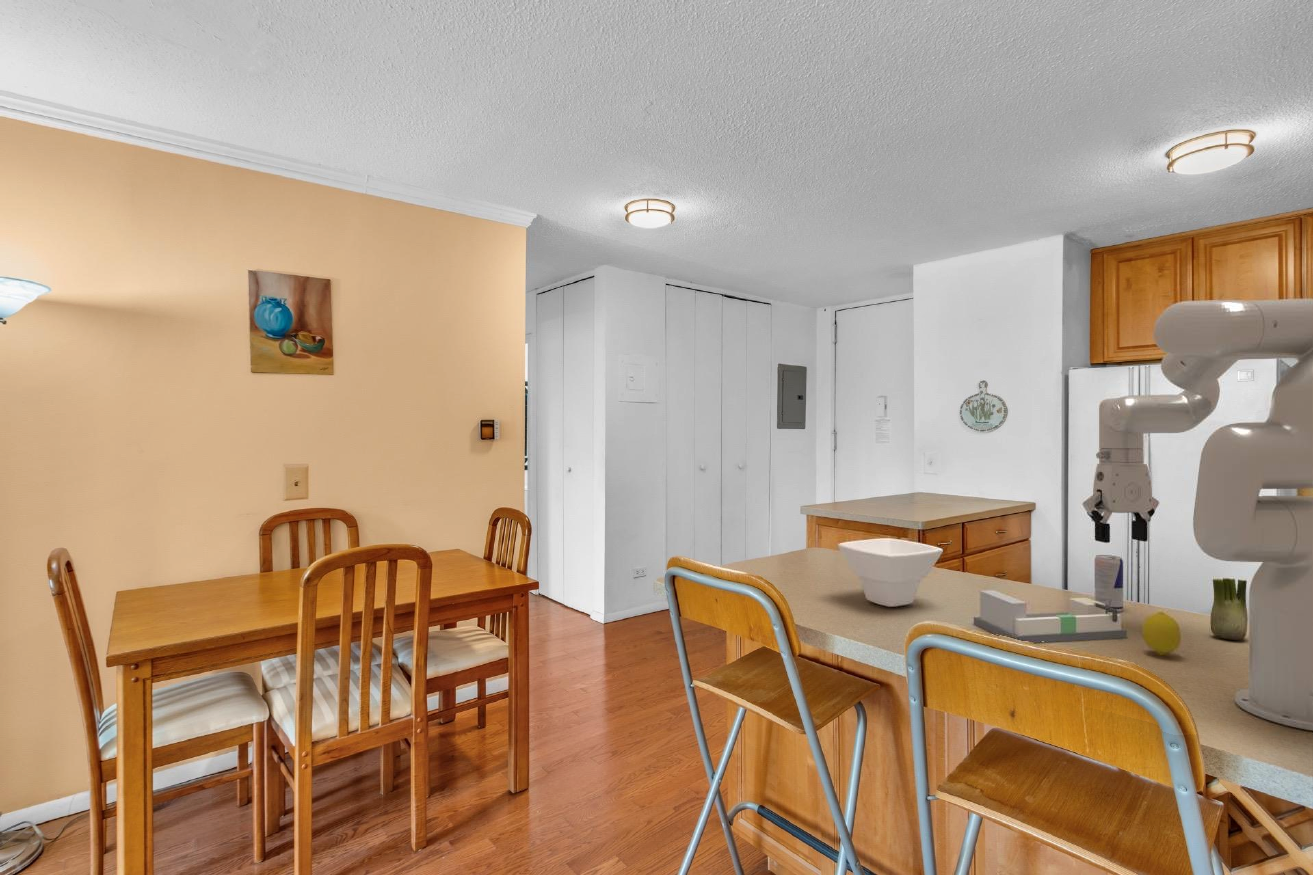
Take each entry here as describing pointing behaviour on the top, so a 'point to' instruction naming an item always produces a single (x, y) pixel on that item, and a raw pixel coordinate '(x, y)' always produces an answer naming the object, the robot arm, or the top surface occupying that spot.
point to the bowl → (890, 567)
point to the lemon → (1161, 633)
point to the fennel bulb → (1229, 609)
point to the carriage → (1089, 607)
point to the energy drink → (1109, 581)
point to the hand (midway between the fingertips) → (1121, 540)
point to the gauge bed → (1042, 622)
